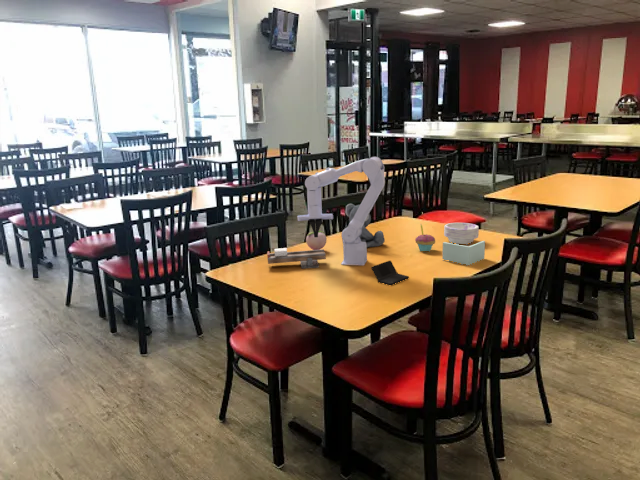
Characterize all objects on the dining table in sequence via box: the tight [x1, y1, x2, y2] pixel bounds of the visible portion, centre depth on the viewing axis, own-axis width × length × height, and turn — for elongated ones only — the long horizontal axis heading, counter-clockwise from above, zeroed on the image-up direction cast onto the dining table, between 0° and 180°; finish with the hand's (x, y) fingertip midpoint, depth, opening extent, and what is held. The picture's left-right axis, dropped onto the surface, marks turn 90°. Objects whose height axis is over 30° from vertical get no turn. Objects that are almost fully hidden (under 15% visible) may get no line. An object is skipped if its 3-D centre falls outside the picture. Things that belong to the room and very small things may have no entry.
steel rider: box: [274, 247, 288, 257], centre depth 209 cm, size 5×4×3 cm
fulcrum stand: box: [299, 258, 320, 270], centre depth 211 cm, size 7×10×4 cm
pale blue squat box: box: [442, 240, 486, 266], centre depth 209 cm, size 12×12×8 cm
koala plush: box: [341, 203, 385, 248], centre depth 236 cm, size 17×18×20 cm
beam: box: [266, 248, 327, 265], centre depth 210 cm, size 23×7×4 cm, turn 95°
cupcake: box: [414, 224, 436, 252], centre depth 223 cm, size 9×8×12 cm
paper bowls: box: [443, 222, 480, 245], centre depth 235 cm, size 15×15×8 cm
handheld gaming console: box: [370, 260, 410, 286], centre depth 189 cm, size 12×7×10 cm
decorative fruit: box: [305, 230, 328, 250], centre depth 229 cm, size 9×8×10 cm
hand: (316, 236), depth 213 cm, fingers closed
